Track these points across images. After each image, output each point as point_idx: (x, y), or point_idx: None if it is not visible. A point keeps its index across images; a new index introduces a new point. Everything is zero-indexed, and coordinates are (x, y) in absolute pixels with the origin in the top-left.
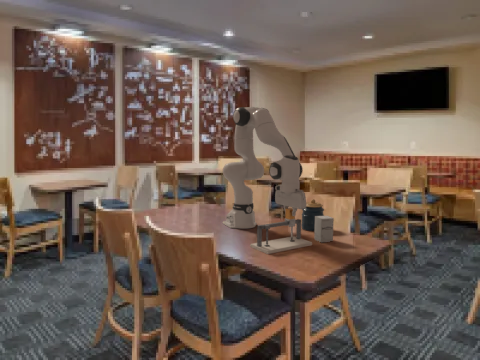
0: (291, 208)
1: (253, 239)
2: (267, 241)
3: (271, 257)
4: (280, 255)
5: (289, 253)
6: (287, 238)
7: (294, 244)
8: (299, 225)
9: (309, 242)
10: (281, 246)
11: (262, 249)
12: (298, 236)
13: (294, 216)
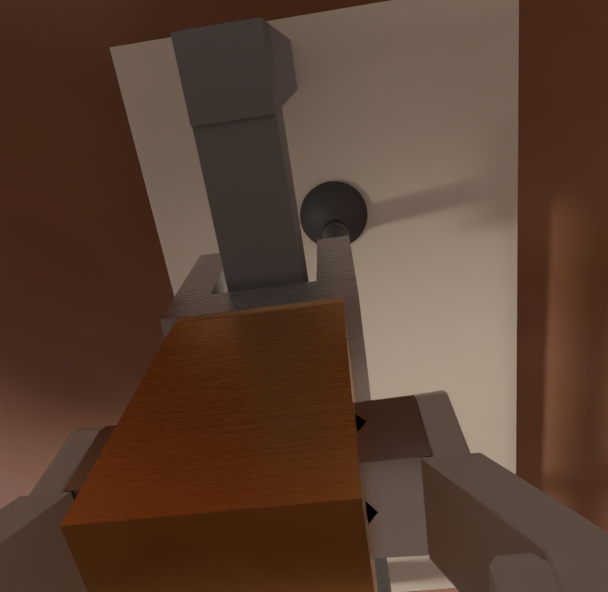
0: (195, 563)
1: (20, 465)
2: (387, 562)
3: None
4: (600, 497)
5: (604, 410)
6: (198, 203)
7: (477, 274)
8: (279, 74)
9: (512, 33)
10: (464, 430)
11: (437, 584)
12: (295, 89)
13: (347, 341)
